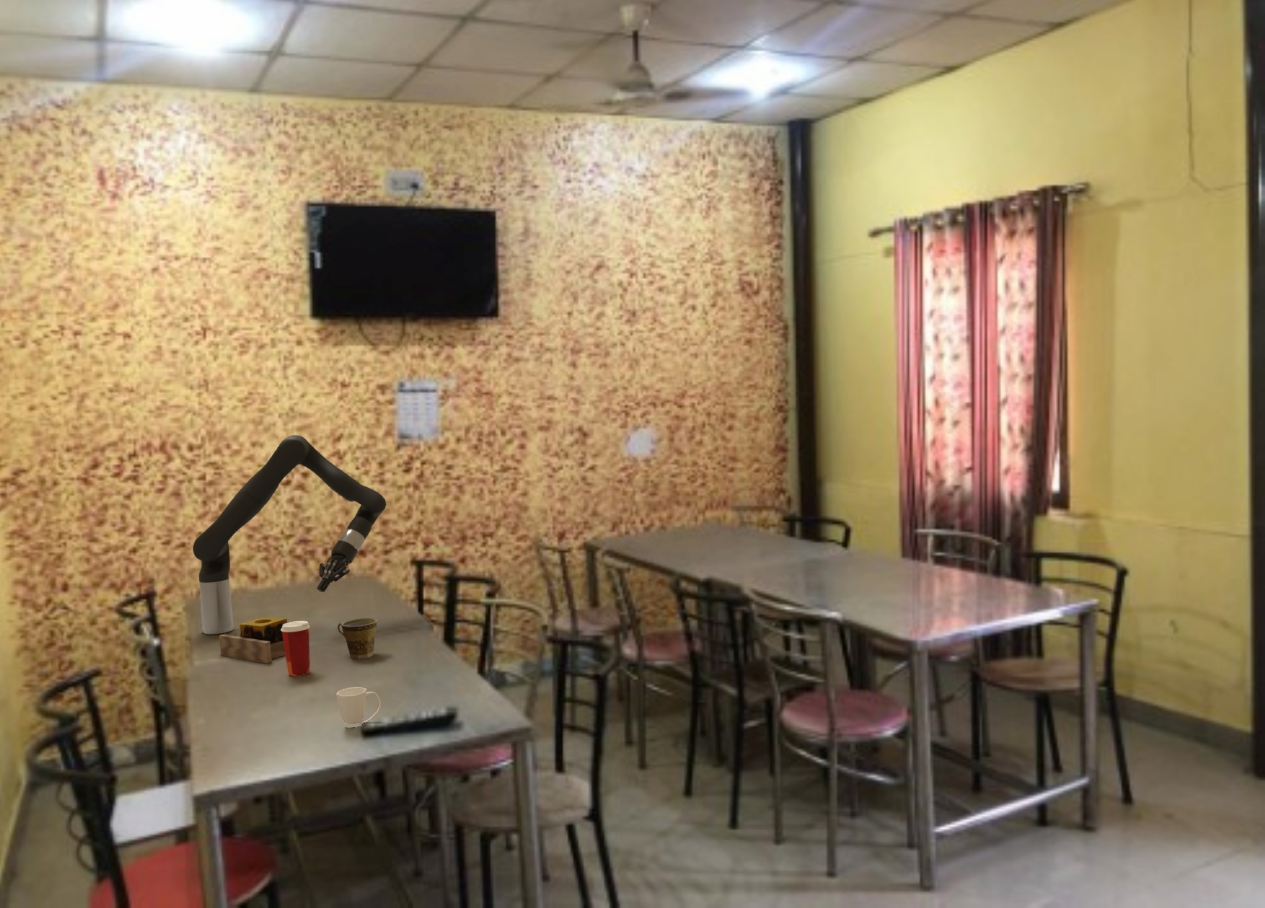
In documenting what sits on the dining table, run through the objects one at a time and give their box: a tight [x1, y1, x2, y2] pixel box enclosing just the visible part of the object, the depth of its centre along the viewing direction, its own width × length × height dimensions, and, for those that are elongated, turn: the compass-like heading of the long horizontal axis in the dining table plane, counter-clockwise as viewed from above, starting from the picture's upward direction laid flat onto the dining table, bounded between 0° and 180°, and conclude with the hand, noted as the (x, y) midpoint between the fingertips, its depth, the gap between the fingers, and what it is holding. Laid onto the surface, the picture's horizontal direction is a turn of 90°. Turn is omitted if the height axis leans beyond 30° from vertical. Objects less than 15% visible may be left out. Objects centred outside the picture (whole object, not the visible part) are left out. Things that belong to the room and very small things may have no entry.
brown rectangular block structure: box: [218, 633, 286, 664], centre depth 308 cm, size 22×8×6 cm, turn 56°
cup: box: [335, 686, 382, 725], centre depth 240 cm, size 7×10×8 cm
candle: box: [238, 616, 288, 650], centre depth 310 cm, size 10×10×10 cm
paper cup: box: [281, 620, 311, 677], centre depth 286 cm, size 8×8×14 cm
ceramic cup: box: [337, 617, 378, 660], centre depth 302 cm, size 13×10×10 cm
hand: (320, 590), depth 328 cm, fingers closed
